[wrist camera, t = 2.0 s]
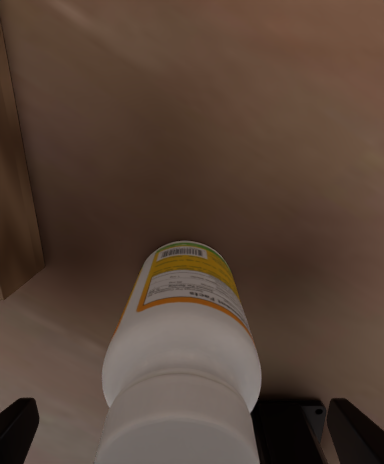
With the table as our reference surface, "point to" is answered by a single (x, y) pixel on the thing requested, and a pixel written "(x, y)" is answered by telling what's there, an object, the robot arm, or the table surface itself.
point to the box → (15, 195)
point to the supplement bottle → (181, 366)
